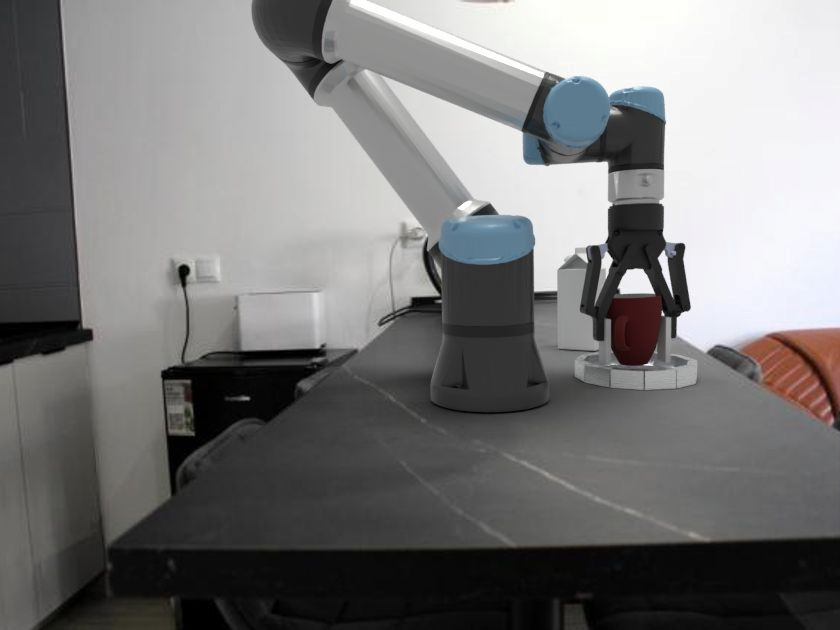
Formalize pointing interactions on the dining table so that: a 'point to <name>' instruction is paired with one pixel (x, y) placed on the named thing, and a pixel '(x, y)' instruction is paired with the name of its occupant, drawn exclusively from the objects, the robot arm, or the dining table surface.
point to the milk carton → (575, 303)
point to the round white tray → (637, 372)
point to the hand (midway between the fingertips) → (634, 361)
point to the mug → (634, 327)
